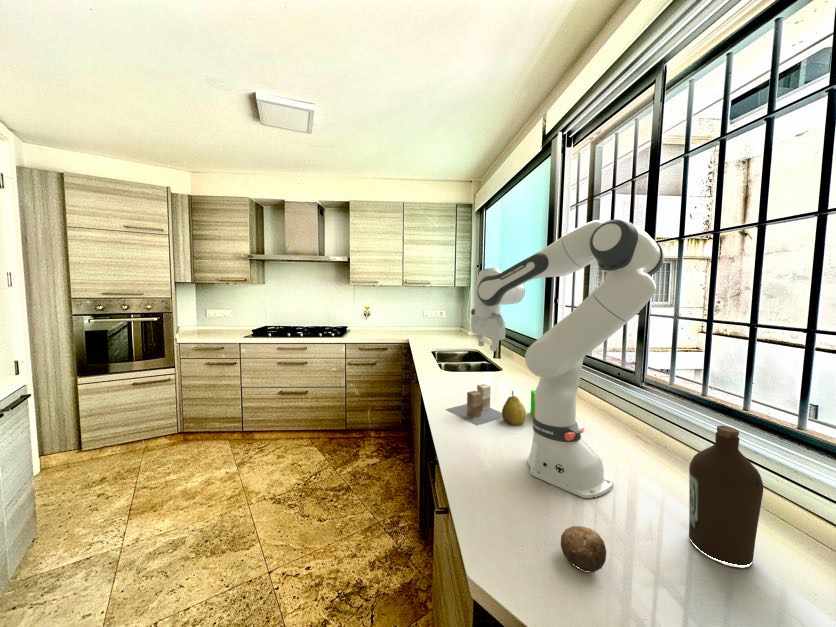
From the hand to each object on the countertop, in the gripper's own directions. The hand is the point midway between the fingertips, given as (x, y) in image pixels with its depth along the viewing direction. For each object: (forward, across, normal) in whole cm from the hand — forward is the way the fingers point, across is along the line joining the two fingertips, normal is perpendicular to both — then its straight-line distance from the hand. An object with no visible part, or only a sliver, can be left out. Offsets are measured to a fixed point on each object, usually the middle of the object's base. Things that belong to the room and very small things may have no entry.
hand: (487, 348), depth 124 cm
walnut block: (+30, +7, +1) cm, 30 cm away
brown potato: (+30, -63, +12) cm, 71 cm away
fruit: (+30, -2, -12) cm, 32 cm away
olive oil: (+29, -68, -16) cm, 76 cm away
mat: (+30, +11, -2) cm, 32 cm away
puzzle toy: (+30, -2, -27) cm, 41 cm away
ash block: (+30, +15, -7) cm, 34 cm away
